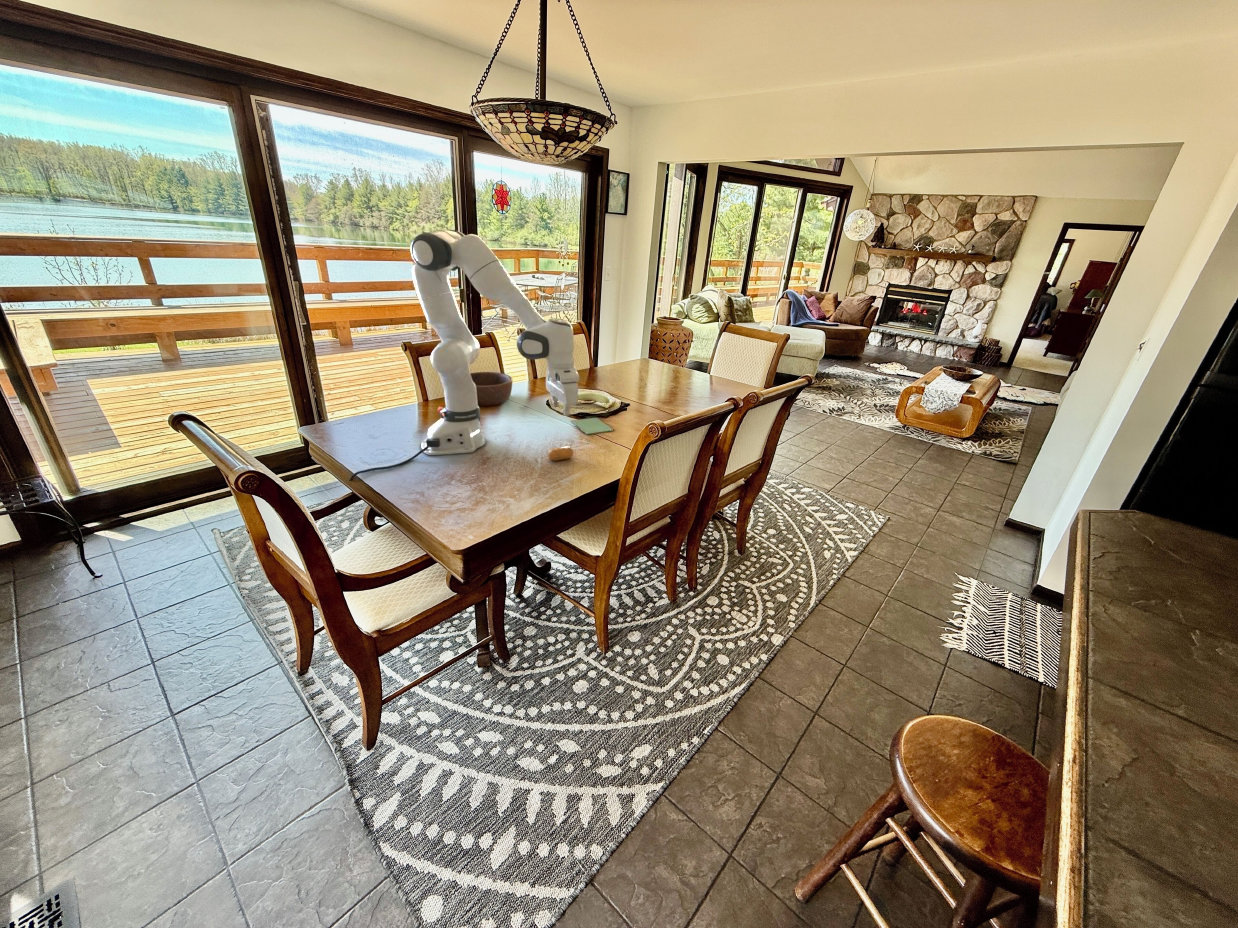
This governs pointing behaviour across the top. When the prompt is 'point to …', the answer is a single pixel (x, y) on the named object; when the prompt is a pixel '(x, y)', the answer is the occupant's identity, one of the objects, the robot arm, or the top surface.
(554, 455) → the roll
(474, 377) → the wooden bowl
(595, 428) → the cloth
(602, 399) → the banana
